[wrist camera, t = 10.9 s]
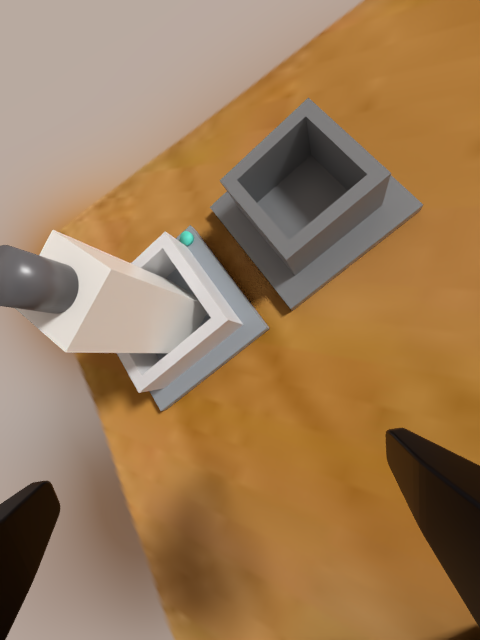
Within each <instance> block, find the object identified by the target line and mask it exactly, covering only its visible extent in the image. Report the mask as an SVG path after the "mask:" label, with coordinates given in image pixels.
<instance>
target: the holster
mask: <svg viewBox="0 0 480 640" xmlns="http://www.w3.org/2000/svg"><path fill="white" fill-rule="evenodd" d="M220 182H221V183H222V185H223V186H224V187H225V189H226V190H227V192H226V193H225V194H224V195H222V196H221V197H220V198H219V199H218V200H217V201H216V202H215V203H214V204H213V205H212V206H211V207H210V208H211V209H212V211H213V212H214V213H215V214H216V216H217V217H218V218H219V219H220V221H221V222H222V223H223V224H224V226H225V227H226V228H227V229H228V231H229V232H230V233H231V234H232V236H233V237H234V238H235V240H236V241H237V242H238V243H239V245H240V246H241V247H242V248H243V250H244V251H245V252H246V253H247V255H248V256H249V257H250V258H251V260H252V261H253V262H254V263H255V265H256V266H257V267H258V268H259V270H260V271H261V272H262V273H263V275H264V276H265V277H266V279H267V280H268V281H269V282H270V284H271V285H272V286H273V287H274V289H275V290H276V291H277V292H278V294H279V295H280V296H281V297H282V299H283V300H284V301H285V302H286V304H287V305H288V306H289V307H290V309H291V310H292V311H293V310H294V309H296V308H297V307H298V306H299V305H301V304H302V303H303V302H304V301H306V300H307V299H308V298H310V297H311V296H312V295H313V294H315V293H316V292H317V291H318V290H320V289H321V288H322V287H324V286H325V285H326V284H327V283H329V282H330V281H331V280H332V279H334V278H335V277H336V276H338V275H339V274H340V273H341V272H343V271H344V270H345V269H347V268H348V267H349V266H350V265H352V264H353V263H354V262H355V261H357V260H358V259H359V258H361V257H362V256H363V255H364V254H366V253H367V252H368V251H369V250H371V249H372V248H373V247H375V246H376V245H377V244H378V243H380V242H381V241H382V240H384V239H385V238H386V237H387V236H389V235H390V234H391V233H392V232H394V231H395V230H396V229H398V228H399V227H400V226H401V225H403V224H404V223H405V222H406V221H408V220H409V219H410V218H412V217H413V216H414V215H415V214H417V213H418V212H419V211H420V210H421V208H422V206H423V204H422V203H421V202H420V201H419V200H417V199H416V198H415V197H414V196H413V195H412V194H411V193H410V192H409V191H408V190H407V189H405V188H404V187H403V186H402V185H401V184H400V183H399V182H398V181H397V180H396V179H395V178H393V177H392V176H391V173H390V172H389V171H388V170H387V169H386V168H385V167H384V166H383V165H381V164H380V163H379V162H378V161H377V160H376V159H375V158H374V157H373V156H372V155H370V154H369V153H368V152H367V151H366V150H365V149H364V148H363V147H362V146H361V145H360V144H358V143H357V142H356V141H355V140H354V139H353V138H352V137H351V136H350V135H349V134H347V133H346V132H345V131H344V130H343V129H342V128H341V127H340V126H339V125H338V124H337V123H335V122H334V121H333V120H332V119H331V118H330V117H329V116H328V115H327V114H326V113H325V112H323V111H322V110H321V109H320V108H319V107H318V106H317V105H316V104H315V103H314V102H312V101H311V100H310V99H309V98H307V99H306V100H305V101H304V102H303V103H302V104H301V105H300V106H299V107H298V108H297V109H296V110H295V111H294V112H293V113H291V114H290V115H289V116H288V117H287V118H286V119H285V120H284V121H283V122H282V123H281V124H280V125H279V126H278V127H277V128H275V129H274V130H273V131H272V132H271V133H270V134H269V135H268V136H267V137H266V138H265V139H264V140H263V141H262V142H260V143H259V144H258V145H257V146H256V147H255V148H254V149H253V150H252V151H251V152H250V153H249V154H248V155H247V156H246V157H244V158H243V159H242V160H241V161H240V162H239V163H238V164H237V165H236V166H235V167H234V168H233V169H232V170H231V171H230V172H228V173H227V174H226V175H225V176H224V177H223V178H222V179H221V180H220Z"/></svg>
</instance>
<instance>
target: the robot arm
mask: <svg viewBox="0 0 480 640" xmlns="http://www.w3.org/2000/svg"><path fill="white" fill-rule="evenodd" d="M386 454H387V461H388V464H389V466H390V469H391V471H392V473H393V475H394V477H395V479H396V481H397V483H398V485H399V487H400V489H401V491H402V493H403V495H404V498H405V500H406V502H407V504H408V506H409V508H410V510H411V512H412V514H413V516H414V518H415V520H416V522H417V524H418V526H419V528H420V530H421V531H422V533H423V535H424V537H425V538H426V540H427V542H428V543H429V545H430V547H431V548H432V550H433V552H434V553H435V555H436V557H437V558H438V560H439V562H440V563H441V565H442V567H443V568H444V570H445V571H446V573H447V575H448V576H449V578H450V580H451V581H452V583H453V585H454V586H455V588H456V590H457V591H458V593H459V595H460V596H461V598H462V599H463V601H464V603H465V604H466V606H467V608H468V609H469V611H470V613H471V614H472V616H473V618H474V619H475V621H476V623H477V624H478V626H479V628H480V466H479V465H477V464H475V463H473V462H471V461H469V460H467V459H465V458H463V457H461V456H459V455H457V454H455V453H453V452H451V451H449V450H447V449H445V448H443V447H441V446H439V445H437V444H435V443H433V442H431V441H429V440H427V439H425V438H423V437H421V436H419V435H417V434H415V433H413V432H411V431H409V430H407V429H405V428H395V429H389V430H387V431H386ZM59 513H60V503H59V500H58V498H57V495H56V493H55V491H54V488H53V486H52V484H51V483H50V482H49V481H40V482H35V483H31V484H30V485H28V486H27V487H25V488H24V489H22V490H21V491H19V492H18V493H16V494H15V495H13V496H12V497H10V498H9V499H7V500H6V501H4V502H3V503H1V504H0V640H5V639H6V637H7V635H8V633H9V631H10V629H11V627H12V625H13V623H14V620H15V618H16V616H17V614H18V612H19V610H20V608H21V606H22V604H23V602H24V600H25V597H26V595H27V593H28V591H29V589H30V587H31V584H32V582H33V580H34V578H35V575H36V573H37V570H38V568H39V565H40V562H41V560H42V558H43V555H44V552H45V550H46V547H47V545H48V542H49V539H50V537H51V534H52V532H53V529H54V527H55V524H56V521H57V518H58V516H59Z"/></svg>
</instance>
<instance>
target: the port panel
mask: <svg viewBox="0 0 480 640" xmlns="http://www.w3.org/2000/svg"><path fill="white" fill-rule="evenodd" d="M131 264H133V265H135V266H138V267H140V268H142V269H144V270H147V271H149V272H151V273H154V274H156V275H158V276H161V277H163V278H165V279H167V280H170V281H172V282H173V283H175V284H176V285H178V286H179V287H181V288H183V289H184V290H186V291H187V292H189V293H191V294H192V295H194V296H195V297H197V298H198V300H199V301H200V303H201V304H202V306H203V307H204V308H205V310H206V311H207V314H206V316H205V317H204V319H203V321H202V322H201V324H200V326H199V328H198V329H197V330H196V331H195V332H193V333H192V334H191V335H190V336H189V337H187V338H186V339H185V340H184V341H183V342H181V343H180V344H179V345H178V346H177V347H175V348H174V349H173V350H172V351H171V352H169V353H117V355H118V356H119V358H120V360H121V362H122V364H123V365H124V367H125V369H126V371H127V373H128V374H129V376H130V378H131V380H132V382H133V383H134V385H135V387H136V389H137V391H138V392H139V393H141V392H147V391H150V393H151V395H152V396H153V398H154V400H155V402H156V403H157V405H158V407H159V409H160V411H163V410H166V409H168V408H169V407H170V406H172V405H173V404H174V403H176V402H177V401H178V400H179V399H181V398H182V397H183V396H185V395H186V394H187V393H188V392H190V391H191V390H192V389H193V388H195V387H196V386H197V385H199V384H200V383H201V382H202V381H204V380H205V379H206V378H207V377H209V376H210V375H211V374H213V373H214V372H215V371H216V370H218V369H219V368H220V367H222V366H223V365H224V364H225V363H227V362H228V361H229V360H230V359H232V358H233V357H234V356H236V355H237V354H238V353H239V352H241V351H242V350H243V349H244V348H246V347H247V346H248V345H250V344H251V343H252V342H253V341H255V340H256V339H257V338H259V337H260V336H261V335H262V334H264V333H265V332H266V331H267V330H269V329H270V328H269V327H268V326H267V324H266V323H265V322H264V320H263V319H262V318H261V316H260V315H259V314H258V312H257V311H256V310H255V308H254V307H253V306H252V304H251V303H250V302H249V300H248V299H247V298H246V296H245V295H244V294H243V292H242V291H241V290H240V288H239V287H238V286H237V284H236V283H235V282H234V280H233V279H232V278H231V276H230V275H229V274H228V272H227V271H226V270H225V268H224V267H223V266H222V264H221V263H220V262H219V260H218V259H217V258H216V256H215V255H214V254H213V252H212V251H211V250H210V248H209V247H208V246H207V244H206V243H205V242H204V240H203V239H202V238H201V236H200V235H199V234H198V232H197V231H196V230H195V229H194V228H193V227H192V226H191V225H190V226H189V227H188V228H187V229H186V230H185V231H183V232H182V233H181V234H180V235H179V236H178V237H177V238H176V239H175V238H174V237H173V236H171V235H170V234H168V233H167V232H164V233H163V234H162V235H161V236H160V237H159V238H158V239H157V240H156V241H155V242H153V243H152V244H151V245H150V246H149V247H148V248H147V249H146V250H145V251H144V252H143V253H142V254H141V255H140V256H139V257H137V258H136V259H135V260H134V261H133V262H132V263H131Z"/></svg>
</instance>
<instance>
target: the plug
mask: <svg viewBox="0 0 480 640" xmlns="http://www.w3.org/2000/svg"><path fill="white" fill-rule="evenodd" d="M0 306H5V307H12V308H15V309H17V310H18V311H19V312H20V313H21V314H22V315H23V316H25V317H26V318H27V319H28V320H29V321H30V322H31V323H33V324H34V325H35V326H36V327H37V328H39V330H41V331H42V332H43V333H44V334H45V335H46V336H47V337H49V338H50V339H51V340H52V341H53V342H54V343H55V344H56V345H58V346H59V347H60V348H61V349H62V350H63V351H64V352H67V353H169V352H171V351H172V350H173V349H174V348H175V347H177V346H178V345H179V344H180V343H181V342H183V341H184V340H185V339H186V338H187V337H189V336H190V335H191V334H192V333H193V332H195V331H196V330H197V329H198V328H199V326H200V324H201V322H202V321H203V319H204V317H205V316H206V314H207V311H206V310H205V308H204V307H203V306H202V304H201V303H200V301H199V300H198V298H197V297H195V296H194V295H192V294H191V293H189V292H187V291H186V290H184V289H183V288H181V287H179V286H178V285H176V284H175V283H173V282H172V281H170V280H167V279H165V278H163V277H161V276H158V275H156V274H154V273H151V272H149V271H147V270H144V269H142V268H140V267H138V266H135V265H133V264H131V263H128V262H126V261H124V260H121V259H119V258H117V257H115V256H112V255H110V254H108V253H105V252H103V251H101V250H98V249H96V248H94V247H92V246H89V245H87V244H85V243H82V242H80V241H78V240H75V239H73V238H71V237H69V236H66V235H64V234H62V233H59V232H57V231H55V230H52V232H51V234H50V236H49V238H48V240H47V242H46V243H45V246H44V247H43V249H42V251H41V253H40V255H36V254H33V253H30V252H27V251H24V250H21V249H18V248H15V247H12V246H8V245H2V246H0Z"/></svg>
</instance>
